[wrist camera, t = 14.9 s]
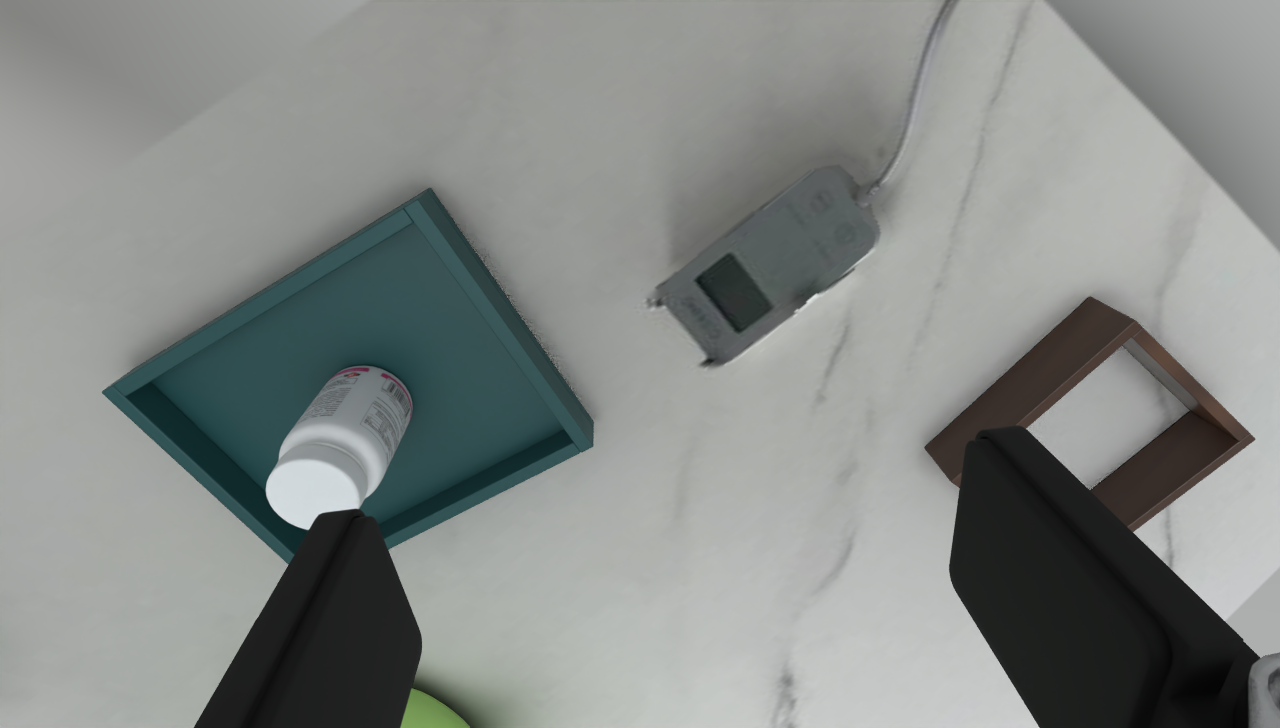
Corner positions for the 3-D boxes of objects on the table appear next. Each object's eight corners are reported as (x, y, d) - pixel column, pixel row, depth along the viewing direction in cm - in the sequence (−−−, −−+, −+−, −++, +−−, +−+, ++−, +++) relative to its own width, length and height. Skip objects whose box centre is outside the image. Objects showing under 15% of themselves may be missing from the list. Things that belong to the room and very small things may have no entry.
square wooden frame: (923, 447, 41) (950, 481, 38) (1090, 295, 37) (1135, 320, 34) (1044, 537, 45) (1077, 574, 42) (1206, 408, 41) (1256, 439, 38)
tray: (430, 187, 32) (417, 198, 30) (593, 422, 39) (593, 446, 36) (132, 369, 36) (100, 392, 33) (328, 557, 42) (312, 587, 40)
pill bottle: (320, 425, 37) (249, 525, 30) (332, 352, 35) (259, 439, 28) (406, 446, 38) (358, 548, 30) (422, 376, 36) (375, 466, 29)
